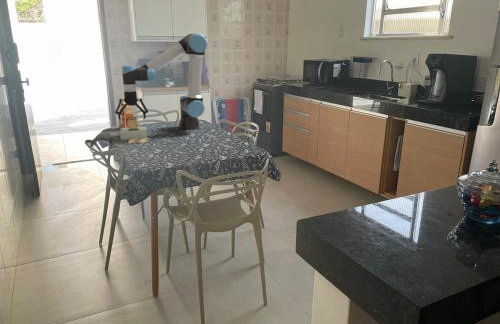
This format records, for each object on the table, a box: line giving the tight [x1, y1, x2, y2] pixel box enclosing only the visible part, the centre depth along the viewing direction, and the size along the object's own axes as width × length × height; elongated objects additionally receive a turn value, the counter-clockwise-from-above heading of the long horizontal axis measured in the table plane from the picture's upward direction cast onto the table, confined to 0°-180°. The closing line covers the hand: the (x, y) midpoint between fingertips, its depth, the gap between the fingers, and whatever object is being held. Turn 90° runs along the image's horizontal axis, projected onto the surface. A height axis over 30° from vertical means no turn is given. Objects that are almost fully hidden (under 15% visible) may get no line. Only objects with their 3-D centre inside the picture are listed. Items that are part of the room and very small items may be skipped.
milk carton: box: [118, 101, 135, 130], centre depth 268 cm, size 9×9×20 cm
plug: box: [129, 116, 138, 131], centre depth 247 cm, size 5×5×13 cm
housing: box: [119, 126, 148, 141], centre depth 248 cm, size 16×12×5 cm
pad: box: [128, 137, 150, 145], centre depth 238 cm, size 12×10×1 cm
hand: (132, 124), depth 246 cm, fingers open, 13 cm apart
